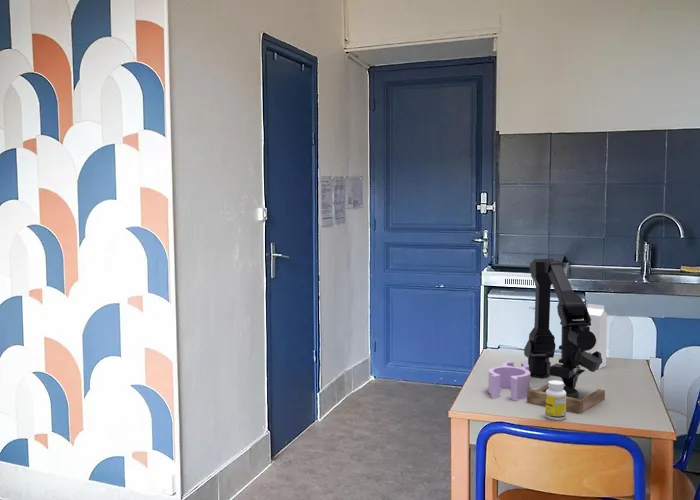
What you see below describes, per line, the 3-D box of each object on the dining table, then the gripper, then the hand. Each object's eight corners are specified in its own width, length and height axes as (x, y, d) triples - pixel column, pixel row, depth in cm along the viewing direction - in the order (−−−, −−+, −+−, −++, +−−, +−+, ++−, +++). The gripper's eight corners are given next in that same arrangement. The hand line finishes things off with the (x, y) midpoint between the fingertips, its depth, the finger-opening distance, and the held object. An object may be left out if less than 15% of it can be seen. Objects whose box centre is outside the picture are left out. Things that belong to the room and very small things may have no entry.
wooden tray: (527, 402, 198) (527, 390, 198) (553, 388, 211) (554, 377, 211) (580, 413, 187) (580, 401, 187) (604, 398, 201) (605, 387, 200)
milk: (599, 369, 234) (600, 306, 232) (582, 366, 238) (583, 304, 236) (606, 365, 238) (607, 304, 236) (589, 363, 242) (590, 302, 240)
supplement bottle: (542, 414, 187) (542, 379, 186) (561, 413, 188) (561, 379, 187) (549, 420, 182) (550, 385, 181) (569, 420, 182) (569, 384, 181)
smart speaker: (579, 408, 192) (579, 394, 192) (547, 406, 194) (547, 392, 194) (577, 399, 201) (577, 385, 200) (546, 397, 203) (546, 384, 202)
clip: (498, 380, 221) (498, 360, 221) (537, 385, 216) (537, 364, 216) (483, 397, 204) (483, 375, 203) (524, 402, 198) (525, 379, 198)
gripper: (585, 352, 188) (584, 407, 189) (610, 340, 202) (609, 391, 203) (547, 347, 195) (547, 399, 197) (574, 335, 209) (573, 384, 211)
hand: (570, 393), depth 202 cm, fingers closed
